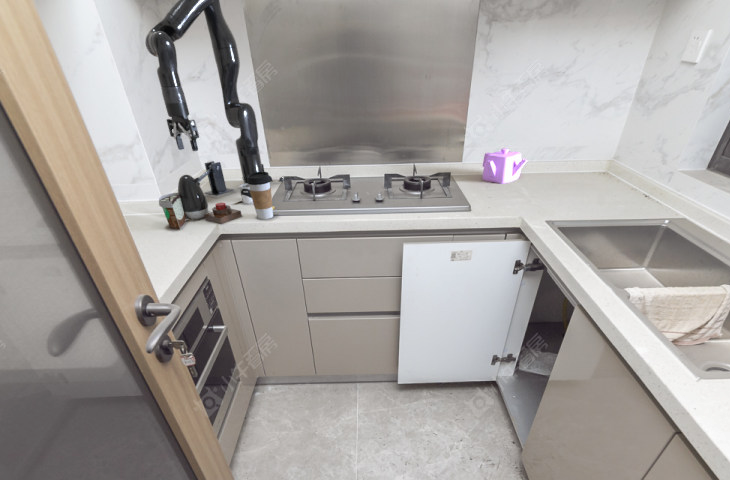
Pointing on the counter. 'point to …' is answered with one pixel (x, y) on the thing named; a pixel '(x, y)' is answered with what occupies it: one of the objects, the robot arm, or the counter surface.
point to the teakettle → (502, 166)
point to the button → (220, 206)
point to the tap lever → (205, 173)
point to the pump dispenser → (192, 197)
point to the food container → (173, 210)
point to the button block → (222, 215)
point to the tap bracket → (216, 179)
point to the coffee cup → (261, 194)
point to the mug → (246, 194)
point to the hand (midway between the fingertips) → (188, 150)
